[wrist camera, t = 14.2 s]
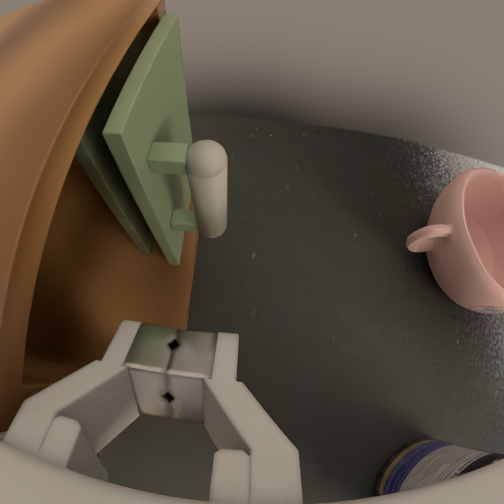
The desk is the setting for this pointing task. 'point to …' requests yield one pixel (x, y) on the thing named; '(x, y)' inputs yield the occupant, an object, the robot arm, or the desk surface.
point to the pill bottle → (430, 465)
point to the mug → (467, 240)
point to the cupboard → (73, 197)
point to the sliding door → (166, 147)
